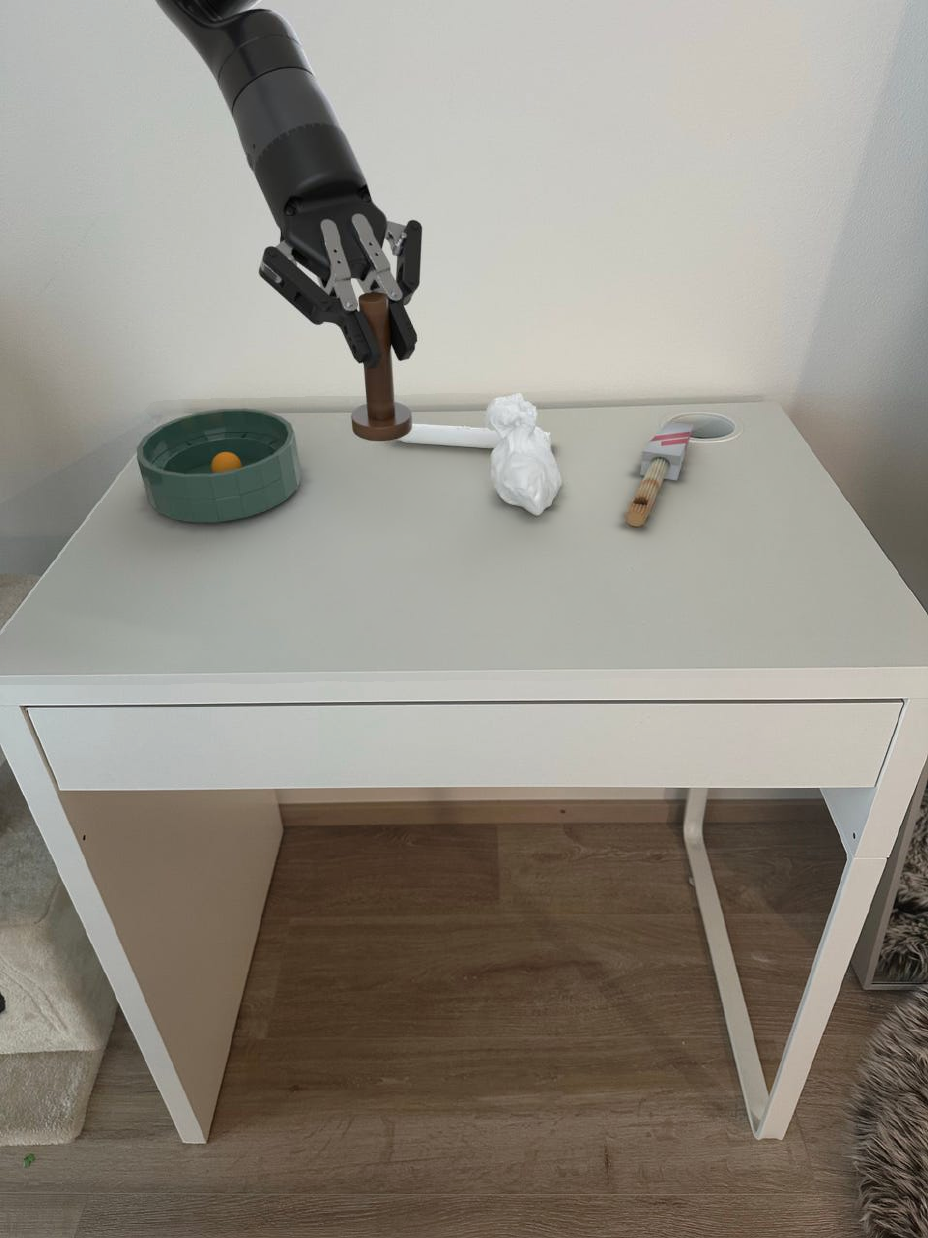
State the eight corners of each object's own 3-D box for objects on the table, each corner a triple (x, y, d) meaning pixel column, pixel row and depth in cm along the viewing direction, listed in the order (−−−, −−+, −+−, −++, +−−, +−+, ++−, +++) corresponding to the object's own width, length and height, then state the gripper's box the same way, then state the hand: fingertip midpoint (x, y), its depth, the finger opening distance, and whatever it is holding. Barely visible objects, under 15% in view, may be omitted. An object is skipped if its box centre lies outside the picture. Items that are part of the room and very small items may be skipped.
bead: (229, 471, 93) (203, 472, 94) (243, 486, 95) (217, 487, 96) (235, 445, 94) (209, 446, 95) (249, 461, 96) (223, 462, 97)
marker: (385, 444, 103) (383, 424, 101) (390, 436, 104) (389, 416, 103) (548, 455, 99) (548, 435, 98) (551, 447, 101) (551, 426, 99)
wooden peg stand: (403, 444, 73) (395, 310, 66) (344, 438, 74) (331, 306, 67) (418, 417, 76) (413, 287, 70) (362, 412, 77) (351, 283, 71)
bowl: (254, 537, 88) (244, 485, 84) (118, 515, 92) (104, 464, 89) (326, 465, 99) (319, 417, 96) (202, 448, 103) (192, 401, 100)
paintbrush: (700, 412, 99) (655, 509, 85) (697, 436, 101) (653, 535, 86) (664, 407, 100) (613, 502, 86) (662, 431, 102) (612, 527, 88)
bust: (527, 486, 98) (459, 405, 94) (587, 447, 95) (519, 361, 90) (517, 546, 89) (440, 459, 84) (582, 506, 85) (506, 412, 81)
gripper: (218, 131, 64) (318, 355, 63) (394, 108, 70) (488, 313, 69) (206, 200, 71) (296, 404, 70) (367, 174, 77) (452, 362, 76)
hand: (391, 358), depth 69 cm, fingers closed on wooden peg stand
